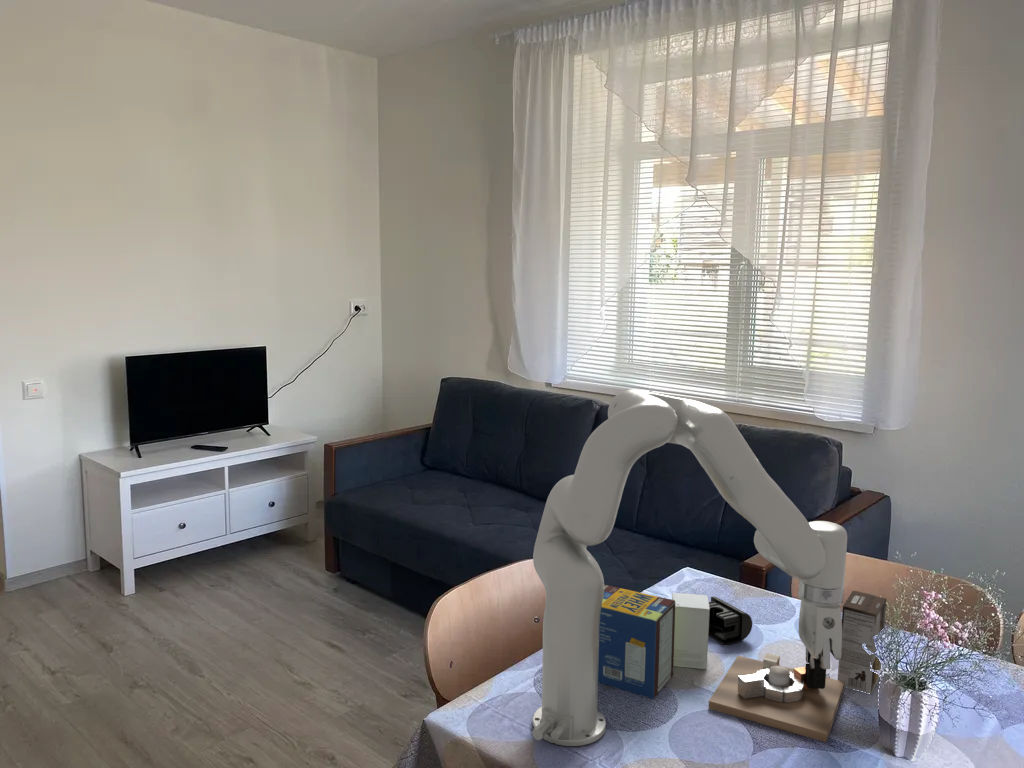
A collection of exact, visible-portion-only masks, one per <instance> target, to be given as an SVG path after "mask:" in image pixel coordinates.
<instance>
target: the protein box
mask: <svg viewBox="0 0 1024 768" xmlns="http://www.w3.org/2000/svg"><path fill="white" fill-rule="evenodd" d="M674 630H675V600H672V598H671V599H670V598H666V597H662V596H661V597H660V596H657V595H652V594H648V593H643V592H640V591H639V592H638V591H634V590H631V589H626V588H621V587H617V586H612V585H608V584H604V595H603V601H602V606H601V612H600V624H599V662H598V682H599V683H598V684H601V683H602V685H605V686H608V687H611V688H615V689H619V690H621V691H624V692H629V693H632V694H635V695H638V696H641V697H645V698H649V699H652V700H654V699H655V698H656V697H657V696H658V695H659V693H660V692H661V691H662V690H663V688H665V686H666V685H667V683H669V681H670V680H671V678H672V677H673V676H674V666H673V662H674Z"/></svg>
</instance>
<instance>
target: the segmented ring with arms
mask: <svg viewBox="0 0 1024 768" xmlns="http://www.w3.org/2000/svg"><path fill="white" fill-rule="evenodd" d="M805 667H806V666H801V667H794V668H793V669H794V673H792V672H790V680H789V687H784V688H781V687H777V686H773V685H770V684H769V669H762V670H759V671H757V673H756V674H750V675H743V676H738V693H739V694H740V695H741V696H742V697H743V698H744V699H746V698H752V697H759V696H762V697H765V698H766V699H770V700H773V701H777V702H781V703H782V702H784V703H788V702H795V701H799V700H801V698H802V696H803V693H804V690H806V689H813V688H808V687H807V686H806V684H805Z"/></svg>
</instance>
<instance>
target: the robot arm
mask: <svg viewBox="0 0 1024 768" xmlns="http://www.w3.org/2000/svg"><path fill="white" fill-rule="evenodd" d="M667 443H669V444H674V445H681V446H682V447H685V448H686V449H688V450H690V452H691V453H692V454H693V455H694V456H695V458H696V460H697V461H698V463H699V464H700V466H701V467H702V469H703V470H704V471H705V473H706V474H707V475H708V477H709V479H710V481H711V482H712V483H713V485H714V487H715V488H716V489H717V491H718V493H719V494H720V495H721V496H722V498H723V499H724V501H725V502H727V503H728V505H729V506H730V507H731V508H732V509H734V511H735V512H736V513H738V514H739V515H740V516H742V518H744V519H745V520H747V521H748V522H749V523H750V524H751V525H752V526H753V527H754V528H755V529H756V530H755V532H754V536H753V543H754V547H755V550H757V552H758V553H759V554H760V555H761V557H763V558H764V559H765V560H767V561H768V562H770V563H771V564H772V565H774V566H776V567H778V568H779V569H780V570H781V571H782V572H784V573H785V574H787V575H789V576H790V577H792V578H794V579H797V580H799V581H798V593H797V594H798V595H797V597H798V598H799V599H800V606H799V614H798V615H799V616H798V636H799V639H800V641H801V642H802V644H803V645H804V647H805V666H804V667H805V684H806V686H807V687H808V688H813V689H824V688H825V682H826V677H827V670H831V655H832V657H833V658H834V659H835V660H837V661H839V660H840V659H841V655H842V609H841V608H842V607H841V605H842V604H844V588H845V577H846V575H845V574H846V564H847V563H846V562H847V561H846V560H847V548H848V547H847V546H848V532H847V530H846V528H845V527H844V526H842V525H840V524H838V523H834V522H831V521H828V520H827V521H826V520H813V521H808V519H807V518H806V517H805V516H804V514H803V513H802V512H801V511H800V509H799V508H798V506H796V504H795V503H793V501H792V500H791V499H790V498H789V497H788V496H787V495H786V494H785V492H784V491H783V490H782V489H781V487H780V486H779V485H778V484H777V483H776V482H775V480H774V479H773V478H772V477H771V476H770V475H769V473H767V471H766V469H765V467H763V465H762V464H761V462H760V460H759V459H758V458H757V456H756V454H755V453H754V452H753V450H752V448H751V447H750V446H749V444H748V442H747V441H746V439H745V438H744V435H742V433H741V432H740V430H739V428H738V427H737V426H736V424H735V422H734V421H733V420H732V418H731V417H730V416H729V415H728V414H727V413H726V412H725V411H724V410H722V409H720V408H718V407H715V406H713V405H710V404H707V403H704V402H702V401H699V400H694V399H688V398H682V397H676V396H671V395H665V394H660V393H656V392H650V391H646V390H640V389H633V388H631V389H626V390H623V391H621V392H619V393H618V394H616V395H614V397H613V398H612V400H611V401H610V402H609V405H608V408H607V419H606V420H604V421H603V422H602V423H601V424H600V425H598V426H597V427H596V428H595V429H594V430H593V431H592V432H591V433H590V435H589V436H588V438H587V440H586V441H585V443H584V445H583V447H582V450H581V452H580V456H579V458H578V461H577V465H576V468H575V470H574V474H571V475H567V476H565V477H563V478H561V479H560V480H559V481H558V482H556V484H554V486H553V487H552V489H551V490H550V493H549V494H548V496H547V499H546V502H545V505H544V509H543V512H542V516H541V520H540V523H539V527H538V531H537V535H536V538H535V543H534V547H533V555H532V563H533V567H534V569H535V572H536V574H537V576H538V577H539V579H540V581H541V584H542V585H543V587H544V589H545V608H544V611H543V622H542V669H541V671H542V673H541V674H542V676H541V677H542V678H541V681H542V682H541V690H542V691H541V706H539V708H537V709H536V711H534V713H533V715H532V727H533V726H534V728H533V730H532V736H533V738H534V739H535V740H537V741H541V740H542V739H543V740H544V741H547V742H549V743H551V744H554V743H555V745H557V746H558V745H559V746H563V747H580V746H585V745H590V744H592V743H595V742H597V741H598V740H599V739H601V738H602V737H603V735H604V734H605V732H606V729H607V728H606V727H607V719H606V717H605V715H604V714H603V713H602V712H601V710H599V709H598V698H599V697H598V695H599V694H598V693H599V690H598V689H599V683H598V662H599V624H600V612H601V606H602V601H603V595H604V585H605V580H604V575H603V572H602V570H601V569H602V568H600V565H599V563H598V561H596V558H595V557H594V556H593V555H592V553H590V551H588V549H587V547H588V546H596V545H599V544H602V543H603V542H604V541H606V540H607V539H608V537H609V536H610V535H611V533H612V531H613V528H614V526H615V523H616V519H617V516H618V510H619V507H620V503H621V501H622V498H623V497H622V496H623V492H624V490H625V489H624V488H625V486H626V483H627V479H628V476H629V475H630V472H631V469H632V467H633V465H635V463H636V462H637V460H639V459H640V458H641V457H642V456H643V455H645V454H646V453H648V452H650V451H652V450H654V449H657V448H660V447H662V446H664V445H665V444H667Z"/></svg>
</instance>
